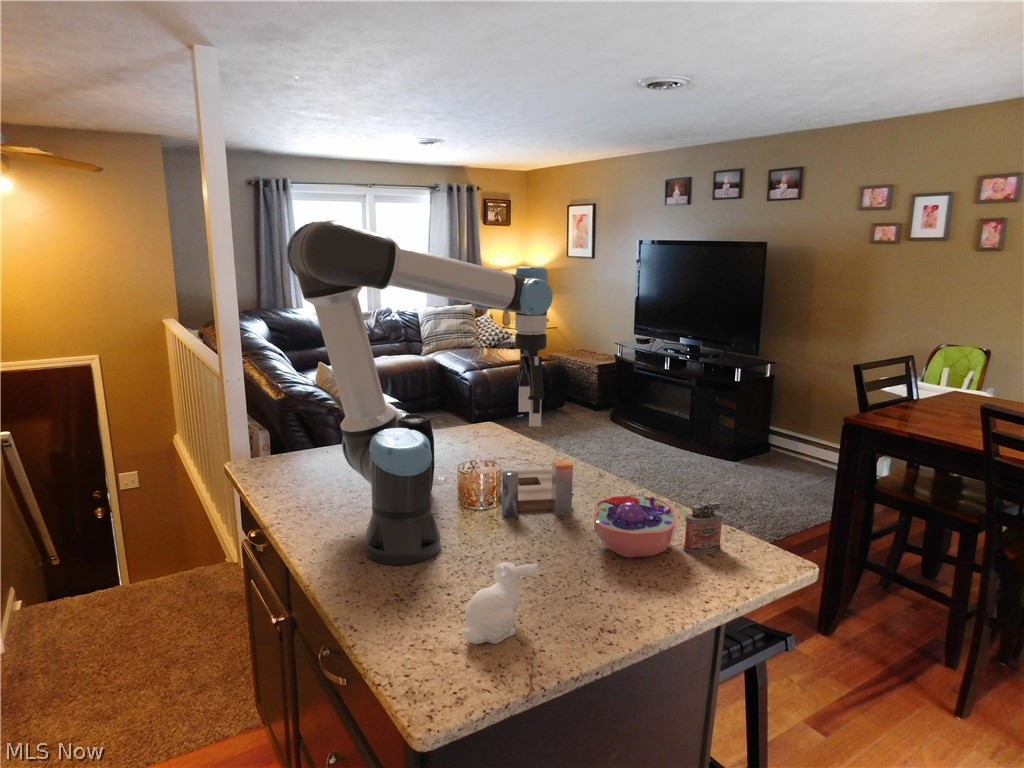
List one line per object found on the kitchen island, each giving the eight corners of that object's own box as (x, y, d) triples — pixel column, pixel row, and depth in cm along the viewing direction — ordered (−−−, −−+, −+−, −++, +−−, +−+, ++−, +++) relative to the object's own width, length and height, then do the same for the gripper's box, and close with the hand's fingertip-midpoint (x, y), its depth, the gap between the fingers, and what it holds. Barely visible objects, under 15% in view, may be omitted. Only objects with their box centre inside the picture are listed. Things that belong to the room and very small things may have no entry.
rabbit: (497, 606, 105) (498, 540, 103) (543, 626, 100) (546, 557, 97) (449, 641, 96) (449, 569, 93) (498, 665, 90) (499, 590, 88)
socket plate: (571, 507, 146) (571, 497, 146) (504, 511, 144) (504, 501, 143) (551, 478, 166) (552, 469, 165) (492, 480, 163) (492, 471, 163)
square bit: (571, 515, 143) (573, 465, 140) (554, 515, 142) (556, 465, 139) (566, 508, 146) (568, 459, 144) (551, 509, 146) (552, 460, 143)
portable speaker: (441, 495, 153) (440, 418, 149) (408, 504, 147) (407, 424, 143) (421, 485, 159) (420, 411, 155) (389, 493, 153) (387, 417, 149)
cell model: (687, 540, 131) (691, 489, 128) (658, 582, 114) (662, 524, 111) (612, 522, 139) (614, 474, 137) (573, 558, 122) (576, 504, 120)
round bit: (519, 517, 141) (519, 475, 139) (503, 518, 140) (503, 476, 138) (516, 511, 144) (517, 470, 142) (500, 512, 143) (501, 470, 141)
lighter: (688, 555, 124) (692, 508, 122) (679, 548, 127) (683, 502, 125) (724, 551, 126) (728, 504, 124) (714, 543, 129) (718, 498, 127)
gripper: (559, 339, 137) (556, 432, 142) (535, 326, 161) (533, 405, 166) (525, 339, 136) (523, 433, 140) (506, 326, 160) (506, 406, 164)
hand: (529, 418), depth 153 cm, fingers open, 13 cm apart
